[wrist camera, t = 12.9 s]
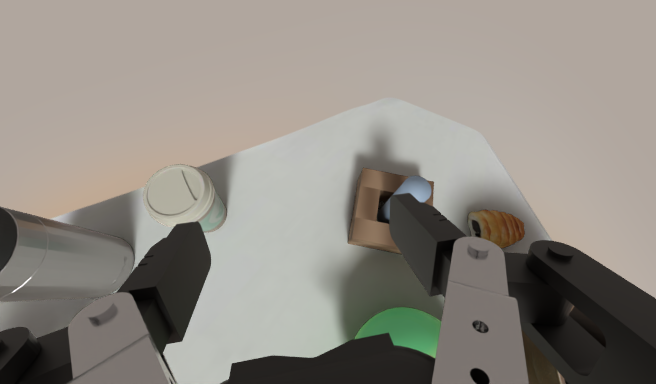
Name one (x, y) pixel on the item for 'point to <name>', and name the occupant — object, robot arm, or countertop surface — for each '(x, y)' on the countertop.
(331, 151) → the countertop surface
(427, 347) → the green round piece
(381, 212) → the dowel
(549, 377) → the plant pot
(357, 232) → the socket block
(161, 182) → the coffee cup
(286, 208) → the countertop surface
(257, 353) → the countertop surface
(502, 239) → the pastry
